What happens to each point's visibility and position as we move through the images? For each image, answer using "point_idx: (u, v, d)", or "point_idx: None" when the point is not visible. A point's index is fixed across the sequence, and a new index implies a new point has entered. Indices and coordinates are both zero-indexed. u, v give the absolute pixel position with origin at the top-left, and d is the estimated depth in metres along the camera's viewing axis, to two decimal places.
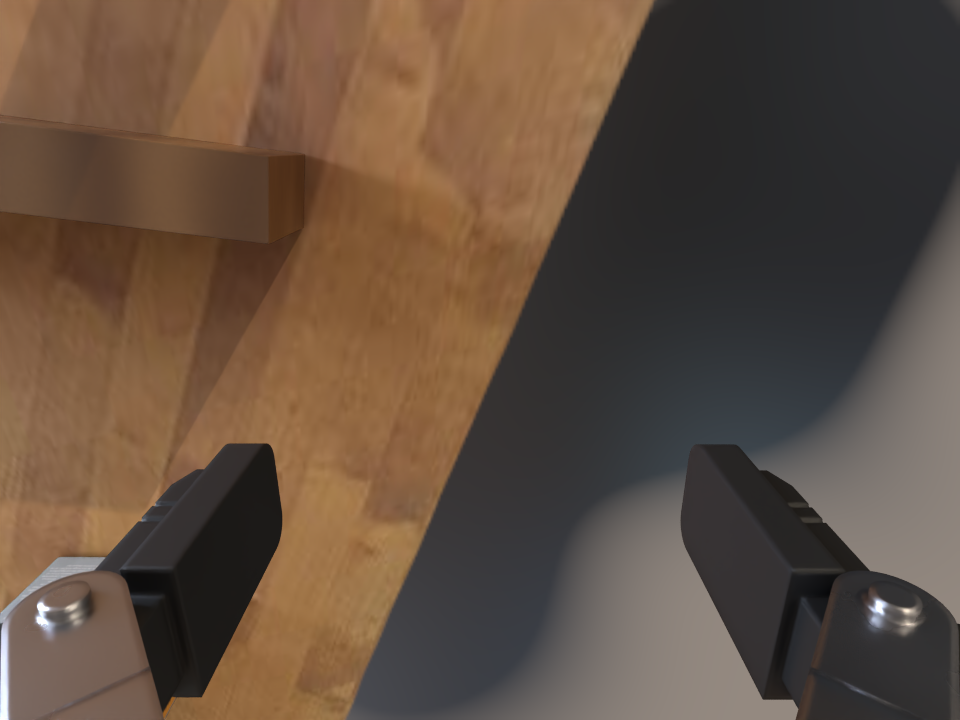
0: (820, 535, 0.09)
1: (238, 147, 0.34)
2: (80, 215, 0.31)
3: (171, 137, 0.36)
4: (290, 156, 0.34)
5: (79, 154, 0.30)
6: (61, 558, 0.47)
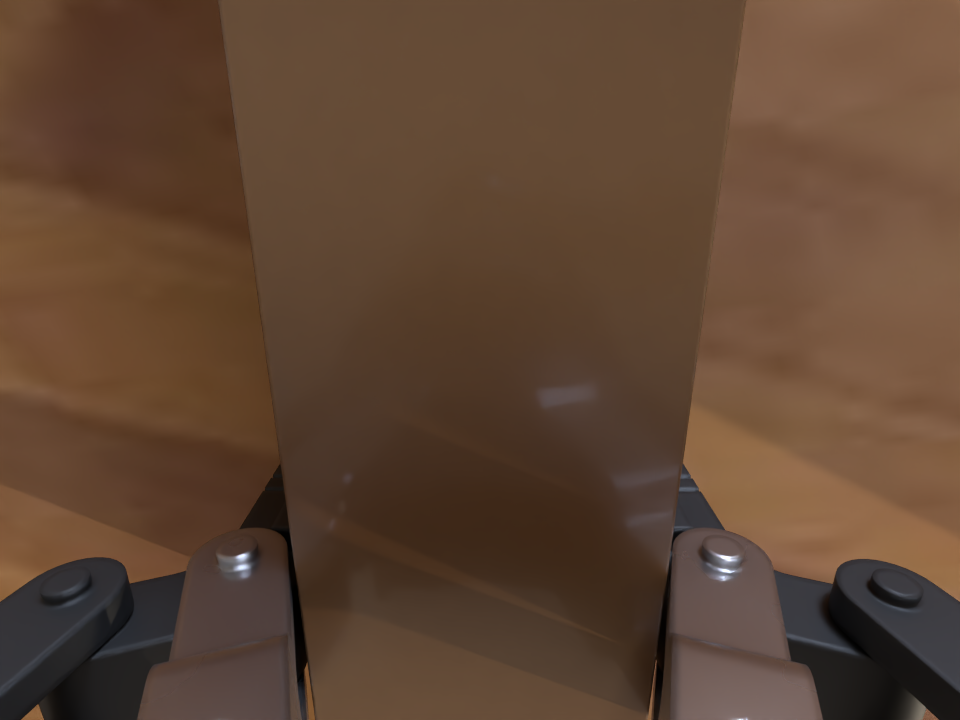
0: (692, 502, 0.10)
1: None
2: (302, 422, 0.06)
3: None
4: None
5: (585, 447, 0.07)
6: None
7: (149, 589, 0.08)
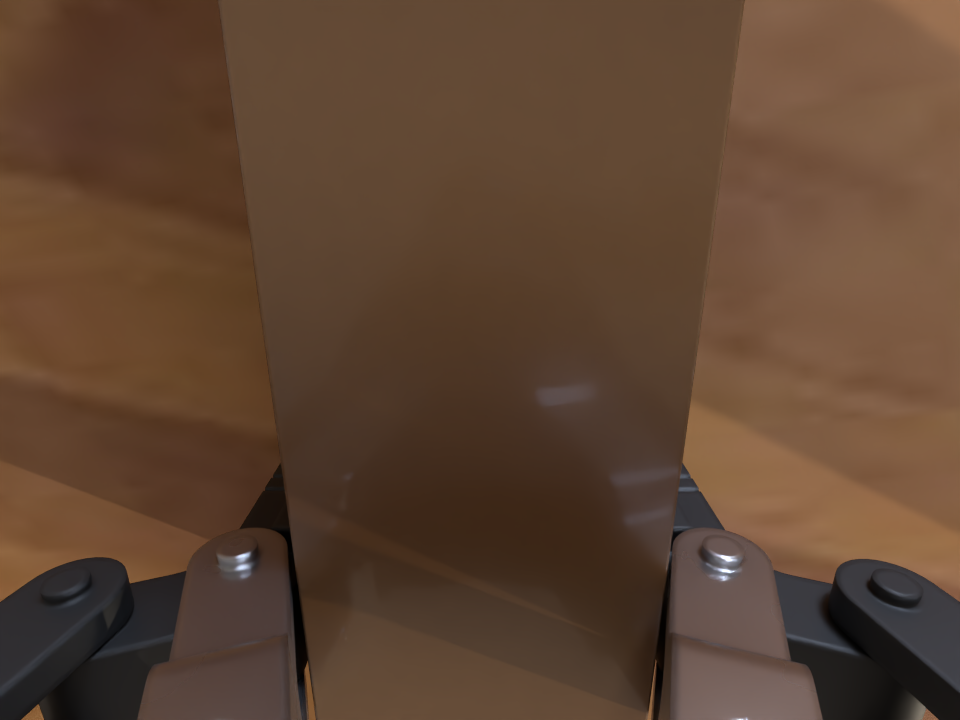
0: (692, 502, 0.10)
1: None
2: (303, 421, 0.06)
3: None
4: None
5: (586, 446, 0.07)
6: None
7: (150, 588, 0.08)
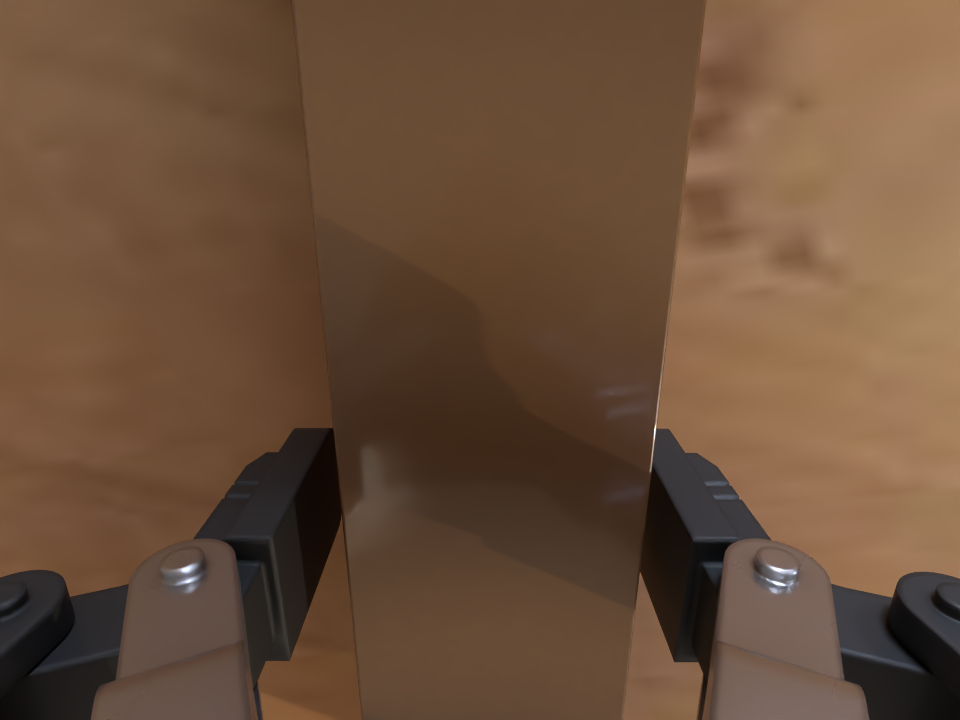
0: (733, 510, 0.09)
1: None
2: (352, 391, 0.08)
3: None
4: None
5: (578, 412, 0.08)
6: None
7: (93, 601, 0.07)
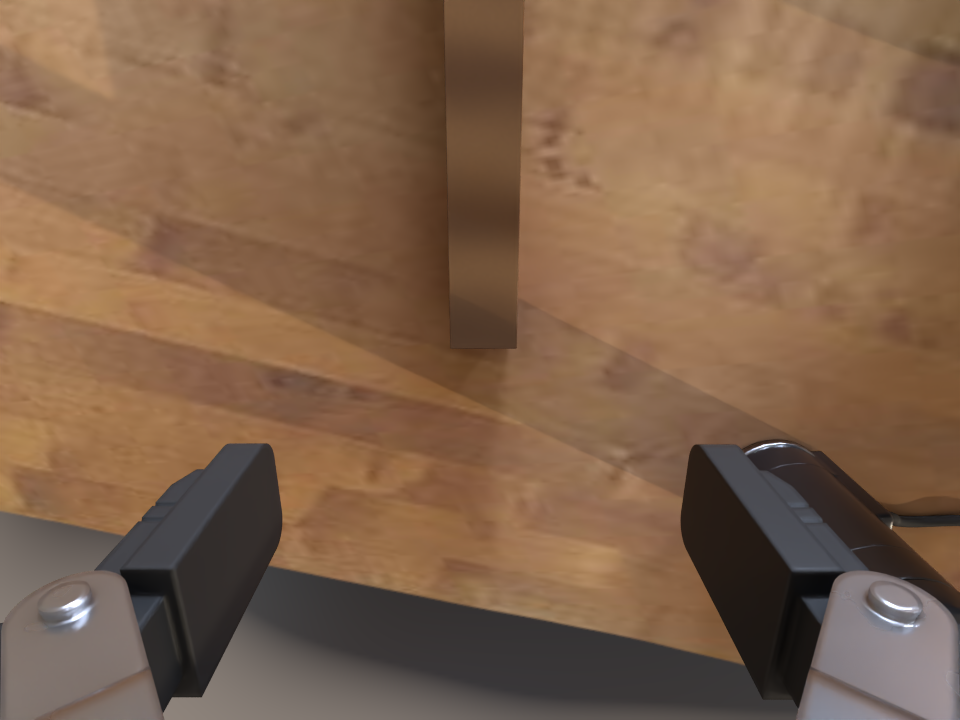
0: (820, 535, 0.09)
1: None
2: (452, 199, 0.37)
3: None
4: None
5: (502, 204, 0.37)
6: None
7: None
